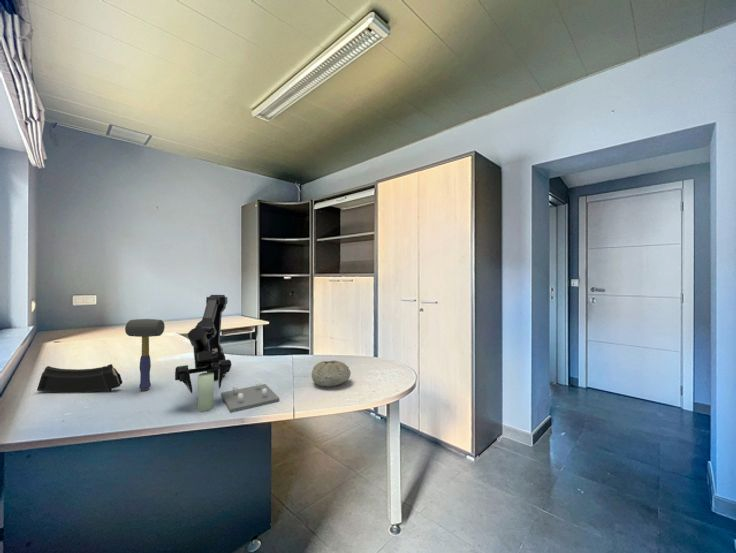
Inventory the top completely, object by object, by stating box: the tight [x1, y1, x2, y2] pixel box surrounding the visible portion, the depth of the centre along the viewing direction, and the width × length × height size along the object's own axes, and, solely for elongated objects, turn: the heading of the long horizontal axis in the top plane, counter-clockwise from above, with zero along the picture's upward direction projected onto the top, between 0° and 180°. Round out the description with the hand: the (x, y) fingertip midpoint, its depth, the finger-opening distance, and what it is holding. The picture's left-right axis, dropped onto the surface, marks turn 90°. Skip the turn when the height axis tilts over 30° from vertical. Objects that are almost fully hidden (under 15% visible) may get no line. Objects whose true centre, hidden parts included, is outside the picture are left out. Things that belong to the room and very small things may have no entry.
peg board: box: [220, 381, 280, 413], centre depth 124 cm, size 18×18×4 cm
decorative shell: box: [311, 360, 352, 387], centre depth 142 cm, size 18×18×10 cm
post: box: [197, 372, 215, 412], centre depth 115 cm, size 5×5×12 cm
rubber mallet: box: [124, 318, 165, 391], centre depth 130 cm, size 12×8×30 cm, turn 96°
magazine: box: [36, 363, 123, 394], centre depth 127 cm, size 17×3×30 cm
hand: (206, 390), depth 114 cm, fingers open, 9 cm apart
